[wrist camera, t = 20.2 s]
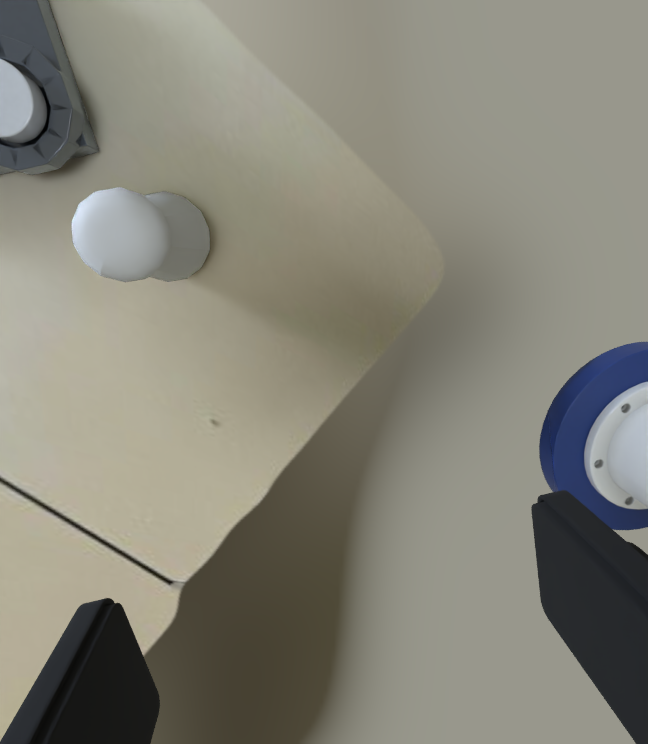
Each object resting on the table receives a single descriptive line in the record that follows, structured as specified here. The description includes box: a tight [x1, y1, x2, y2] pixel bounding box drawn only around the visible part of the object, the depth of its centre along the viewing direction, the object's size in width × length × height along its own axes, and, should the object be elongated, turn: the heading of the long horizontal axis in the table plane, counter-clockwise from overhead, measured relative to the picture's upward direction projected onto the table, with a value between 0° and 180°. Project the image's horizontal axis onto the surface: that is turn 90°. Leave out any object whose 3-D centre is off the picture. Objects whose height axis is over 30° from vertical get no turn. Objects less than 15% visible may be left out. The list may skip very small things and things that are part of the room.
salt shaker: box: [72, 187, 210, 282], centre depth 27 cm, size 6×6×13 cm
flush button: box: [0, 59, 47, 143], centre depth 26 cm, size 4×4×2 cm
